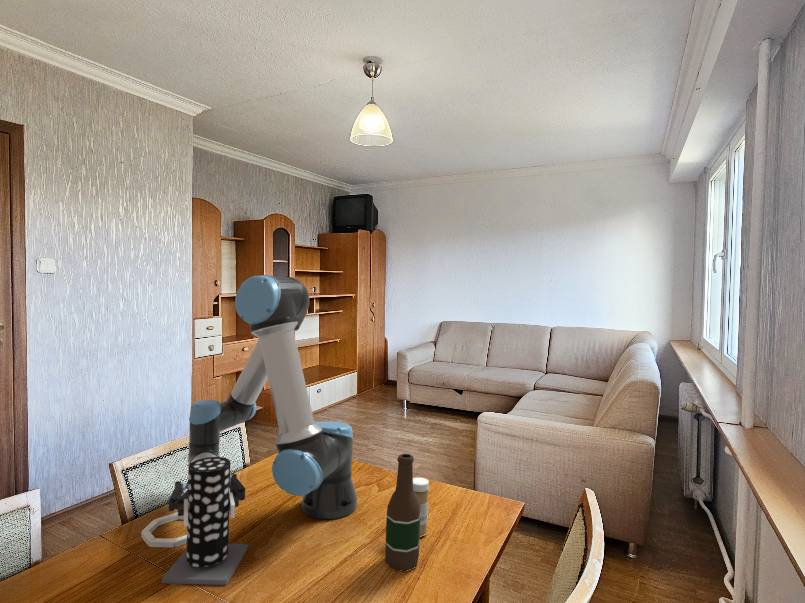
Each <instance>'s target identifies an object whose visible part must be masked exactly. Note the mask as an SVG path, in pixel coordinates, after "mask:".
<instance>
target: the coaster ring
mask: <svg viewBox="0 0 805 603" xmlns="http://www.w3.org/2000/svg"><path fill="white" fill-rule="evenodd" d="M177 520H183V521H184V516H178V511H177V512H174V513H169V514H166V515H164V516H161V517H158V518H155V519H153V520H152V521H151V522H150V523H149V524H148V525H146V527H145V528H144V529H142V530H141V533H140V534H141V535H140V536H141V539H142V540H143V541H144V542H145V544H146V545H147V546H148V547H150V548H170V549H171V548H177V547H179V546H180V547H181V546H183V545H187V534H185V535H181V536H179V537H175V538H158V537H155V536H154V535H153V532H154V531H155V530H156V529H157V528H158V527H159V526H162V525H165V524H168V523H171V522H175V521H177Z"/></svg>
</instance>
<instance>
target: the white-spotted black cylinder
mask: <svg viewBox="0 0 805 603" xmlns="http://www.w3.org/2000/svg"><path fill="white" fill-rule="evenodd" d="M231 464H232V463H231V460H230V459H228V458H226V457H222V456H219V457H208V458H202V459H198V460H196V461H194V462H192V463H190V464H189V463H188V472H187V474H188V476H187V477H188V478H187V482H188V489H187V490H188V526H186V535H187V543H186V548H187V563H188V564H189V565H191V566H194V567H208V566H212V565H215V564H217V563H219V562H221V561H223V560H224V559H225V558H226V557H227V555H228V547H229V544H230V542H229V539H230V511H229V500H230V476H231Z"/></svg>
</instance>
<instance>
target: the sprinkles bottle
mask: <svg viewBox="0 0 805 603" xmlns="http://www.w3.org/2000/svg"><path fill="white" fill-rule="evenodd" d="M413 487H414V492H415V493H416V495H417V496H418V499H419V502H420V508H421V517H420V536H422V535H424V534H426V532H427V533H428V531H427V530H428V528H427V526H428V513H429V510H428V509H429V500H428V497H429V495H428V494H429V490H430V489H429V488H430V481H429V480H428V479H427V478H424V477H413Z"/></svg>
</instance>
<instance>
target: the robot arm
mask: <svg viewBox="0 0 805 603" xmlns="http://www.w3.org/2000/svg"><path fill="white" fill-rule="evenodd" d="M238 288H239V289H237V292H236V294H235V297H234V298H235V299H234V301H235V302H234V306H235V310H236V313H237V315H238V316H239V318H241V319H242V320H243V322H245V323H247V324H249V329H250V333H251V335H252V336H255V337H256V338H257V342H256V344H255V345H254V348H253V350H252V351H251V354H250V355H249V357H248V359H247V361H246V363H245V364H244V366H243V369H242V370H241V373H240V375H239V376H238V378H237V381H236V382H235V384H234V386H233V387H232V390H231V392H230V394H229V395H228V397H227V398H226V400H225V401H223V402H220V401H218V400H216V399H202V400H200V399H199V400H197V401H194V402H192V404H191V405H190V410H189V417H188V422H189V433H188V434H189V435H188V436H189V438H188V439H189V440H188V441H189V443H188V453H187V454H188V455H187V462H188V465H189V464H190V463H192V462H194V461H196V460H198V459H202V458H208V457H220V441H221V440H220V438H221V436H220V435H221V432H223V431H225V430H228V429H230V428H233V427H235V426H238V425H240V424H244V423H246V422H248V421H249V420H250V419H252V418H254V416H255V415H256V412H257V402H256V401H257V399H258V398H259V395H260V394H261V392H262V390H263V388H264V387H265V385H266V383H267V381H268V386H269V390H270V394H271V398H272V402H273V406H274V411H275V416H276V421H277V425H278V429H279V435H278V437H277V439H275V445H276V446H275V447H276V450H277V455H275V457H274V459H273V461H272V466H271V472H272V473H271V474H272V478H273V479H274V481H275V484H276V485H277V486H278V487H279V488H280V489H281V490H283V491H284V492H285V493H286V494H289V495H290V496H291V495H292V496H294V497H295V496H296V497H299V496H301V497H302V498H301V510H302V512H303V513H304V514H305V515H307V516H309V517H311V518H315V519H318V520H334V519H340V518H343V517H347V516H348V515H350V514H352V513H354V512H355V511H356V509H357V507H358V497H357V496H358V495H357V493H356V488H355V485H354V482H353V479H352V474H353V473H352V471H353V470H352V469H353V443H354V437H353V436H354V435H353V427H352V426H351V425H350V424H348V423H345V422H341V421H331V420H330V421H327V420H325V421H323V420H322V421H316V422H315V419H314V415H313V411H312V406H311V401H310V397H309V393H308V388H307V384H306V380H305V376H304V371H303V366H302V362H301V358H300V353H299V349H298V345H297V341H296V335H295V332H297V331H299V329H300V328H301V326H302V324H303V321H304V320H305V318H306V316H307V314H308V312H309V311H308V310H309V307H310V301H311V300H310V293H309V291H308V288H307V287H306V286H305V284H304V283H303V282H301V280H299V279H297V278H295V277H292V276H281V275H280V276H278V275H277V276H276V275H269V274H264V275H263V274H262V275H253V276H251V277H249V278H247V279H246V280H244V281H243V282H242V283H241V285H240V287H238ZM245 500H246V487H245V486H244V484H243V483H241V481H240V480H239V479H238V473H232V474H231V475H230V500H229V517H230V519H235V518H236V508H238V507H239V506H240V505H239V504H240V501H245ZM175 510H177V512H178V516H184V520H183V527H187V526H188V481H187V482H185V483H184V482H181V481H179V480H178V481H175V482H174V489H173V490H172V493H171V494H170V496H169V498H168V512H170V513H171V512H174V511H175Z"/></svg>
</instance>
